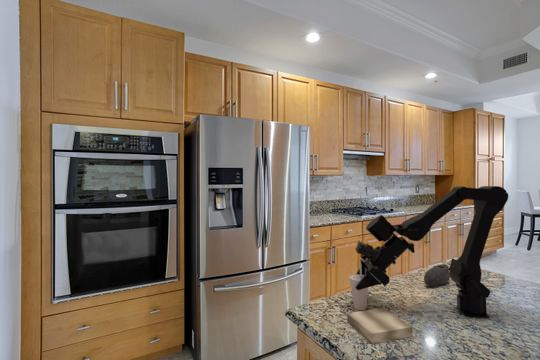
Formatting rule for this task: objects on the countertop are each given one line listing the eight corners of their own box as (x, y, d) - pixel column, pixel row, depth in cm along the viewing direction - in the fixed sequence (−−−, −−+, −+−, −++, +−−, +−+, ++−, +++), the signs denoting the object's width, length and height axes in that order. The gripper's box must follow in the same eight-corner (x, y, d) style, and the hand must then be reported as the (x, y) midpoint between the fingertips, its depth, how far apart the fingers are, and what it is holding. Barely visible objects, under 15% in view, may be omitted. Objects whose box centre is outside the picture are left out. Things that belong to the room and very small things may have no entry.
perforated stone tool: (431, 290, 105) (431, 271, 105) (418, 286, 110) (417, 268, 110) (454, 283, 112) (453, 265, 112) (440, 279, 117) (440, 262, 117)
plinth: (383, 316, 86) (382, 307, 86) (412, 336, 74) (412, 326, 74) (347, 321, 82) (347, 313, 83) (372, 344, 71) (372, 333, 71)
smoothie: (371, 312, 88) (370, 267, 88) (350, 311, 89) (349, 266, 90) (368, 304, 94) (367, 261, 95) (349, 302, 96) (347, 261, 96)
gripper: (365, 229, 101) (334, 259, 102) (376, 239, 82) (338, 276, 84) (389, 251, 99) (357, 282, 101) (406, 267, 81) (367, 304, 83)
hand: (354, 285), depth 92 cm, fingers closed on smoothie, 6 cm apart
